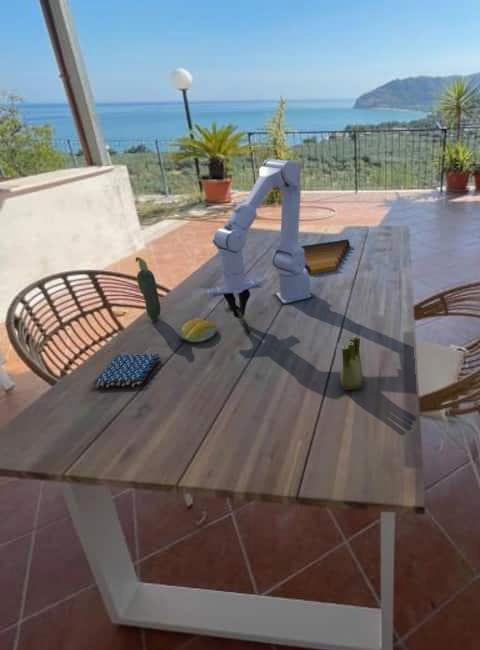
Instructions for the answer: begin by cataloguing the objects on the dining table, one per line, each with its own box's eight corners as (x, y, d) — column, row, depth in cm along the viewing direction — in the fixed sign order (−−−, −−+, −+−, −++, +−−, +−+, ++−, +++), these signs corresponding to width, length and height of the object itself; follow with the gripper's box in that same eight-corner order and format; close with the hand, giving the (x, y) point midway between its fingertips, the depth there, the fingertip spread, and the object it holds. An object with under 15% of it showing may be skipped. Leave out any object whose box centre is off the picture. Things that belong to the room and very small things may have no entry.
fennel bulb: (344, 396, 84) (344, 349, 79) (335, 383, 88) (333, 337, 83) (368, 387, 86) (368, 341, 82) (357, 375, 90) (357, 330, 86)
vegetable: (166, 318, 114) (153, 255, 107) (155, 326, 110) (140, 261, 103) (155, 316, 115) (141, 253, 108) (143, 323, 112) (128, 259, 104)
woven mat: (117, 360, 96) (115, 353, 95) (161, 358, 96) (160, 351, 95) (93, 388, 86) (90, 381, 85) (142, 386, 86) (140, 379, 86)
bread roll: (201, 323, 112) (199, 311, 110) (221, 332, 107) (219, 320, 106) (174, 336, 105) (172, 323, 104) (195, 347, 101) (192, 333, 99)
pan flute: (346, 245, 175) (292, 253, 165) (346, 238, 173) (291, 246, 163) (371, 264, 153) (310, 275, 144) (371, 256, 152) (310, 266, 142)
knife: (254, 344, 103) (252, 328, 101) (249, 346, 102) (246, 330, 100) (233, 305, 121) (231, 291, 119) (228, 306, 120) (225, 292, 118)
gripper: (208, 281, 99) (215, 328, 104) (263, 270, 106) (268, 314, 110) (203, 272, 104) (210, 316, 109) (256, 262, 111) (260, 304, 116)
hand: (238, 314), depth 110 cm, fingers closed on knife, 1 cm apart
